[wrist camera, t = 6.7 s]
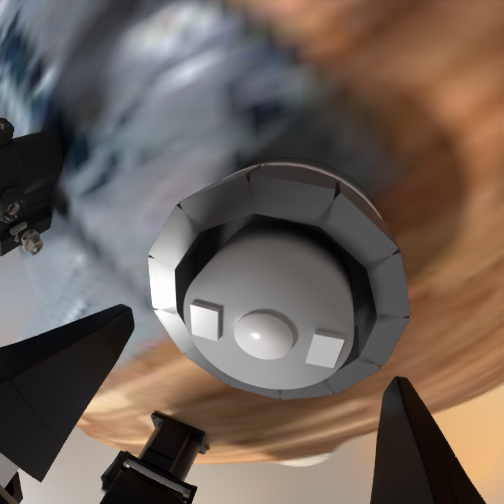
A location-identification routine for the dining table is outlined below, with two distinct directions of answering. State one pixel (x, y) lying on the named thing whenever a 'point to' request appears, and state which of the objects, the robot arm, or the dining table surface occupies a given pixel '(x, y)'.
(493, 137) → the dining table surface
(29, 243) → the scope
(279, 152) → the dining table surface
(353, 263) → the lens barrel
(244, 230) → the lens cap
